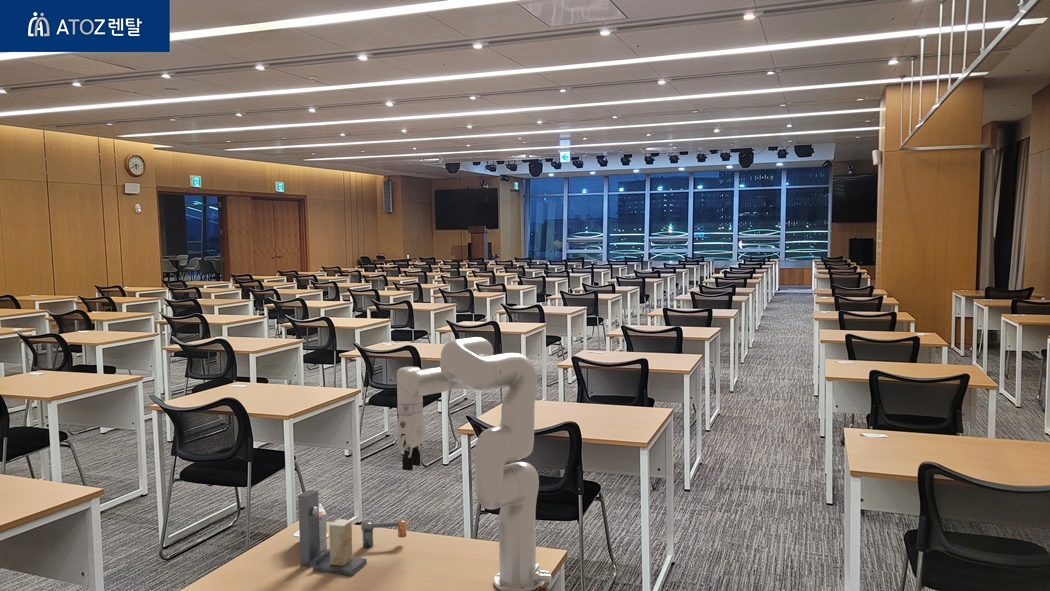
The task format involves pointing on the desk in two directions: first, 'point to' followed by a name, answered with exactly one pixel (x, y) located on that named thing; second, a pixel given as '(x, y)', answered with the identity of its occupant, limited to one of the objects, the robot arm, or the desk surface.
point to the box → (340, 542)
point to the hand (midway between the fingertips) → (411, 467)
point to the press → (318, 540)
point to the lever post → (367, 539)
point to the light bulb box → (322, 528)
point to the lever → (371, 525)
